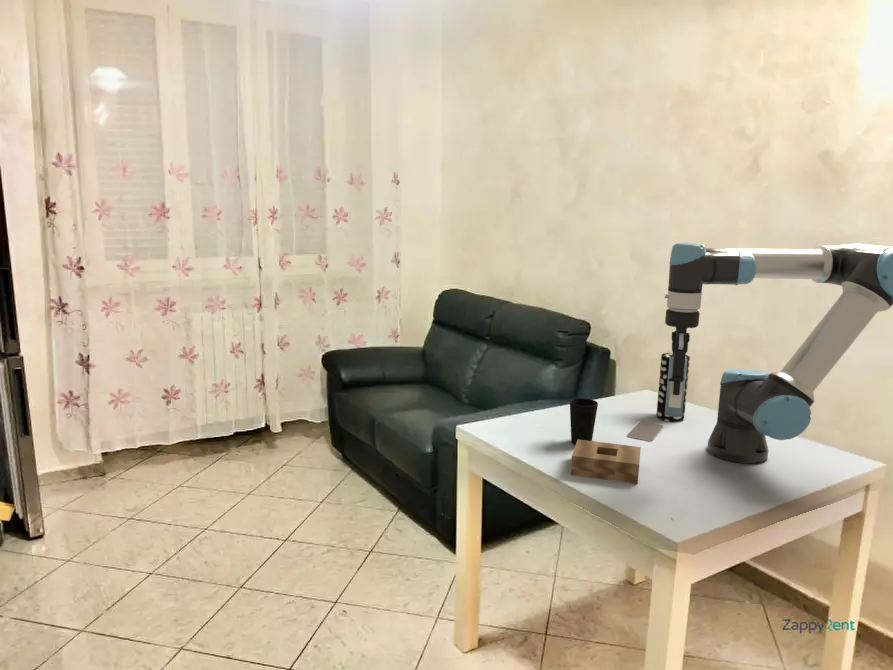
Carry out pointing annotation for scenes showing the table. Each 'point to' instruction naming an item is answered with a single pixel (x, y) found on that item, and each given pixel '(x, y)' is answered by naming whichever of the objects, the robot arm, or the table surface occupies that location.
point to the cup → (582, 419)
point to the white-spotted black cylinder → (663, 389)
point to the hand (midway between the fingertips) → (674, 404)
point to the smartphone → (645, 431)
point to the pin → (669, 410)
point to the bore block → (606, 461)
